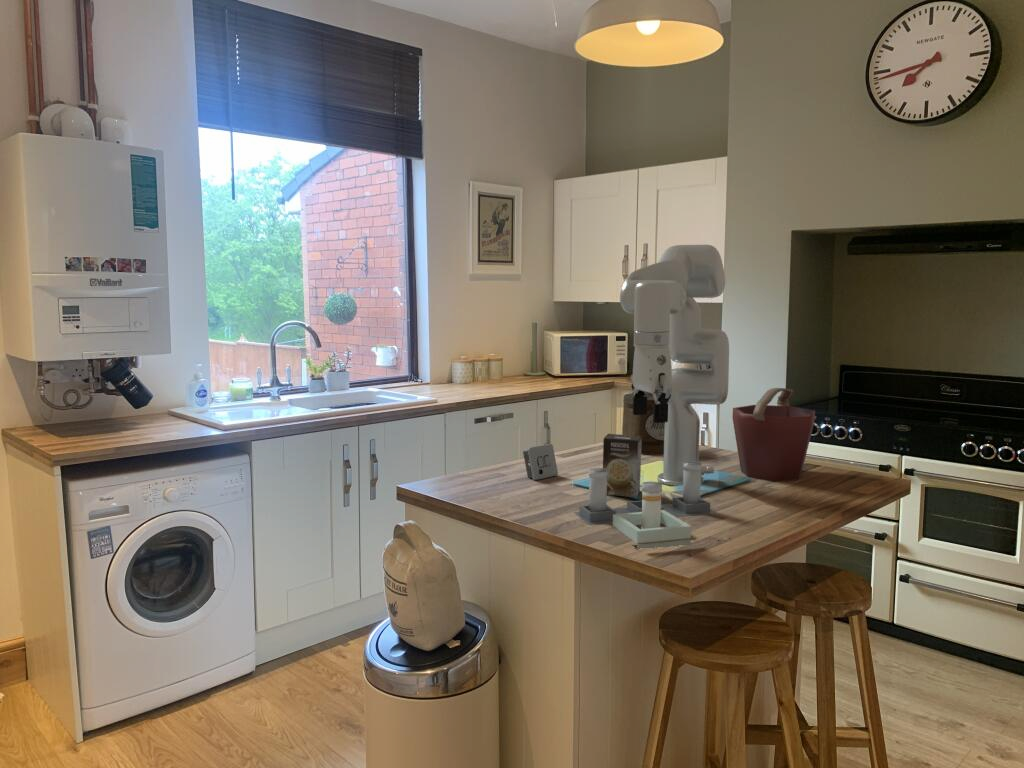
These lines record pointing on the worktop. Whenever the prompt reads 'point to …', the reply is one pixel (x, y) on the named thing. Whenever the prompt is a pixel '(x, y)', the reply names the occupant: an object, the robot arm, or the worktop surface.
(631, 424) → the wooden container
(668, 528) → the tray
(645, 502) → the cylinder
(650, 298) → the robot arm
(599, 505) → the fuse
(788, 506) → the worktop surface
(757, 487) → the worktop surface
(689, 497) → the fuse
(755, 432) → the bucket
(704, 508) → the fuse block
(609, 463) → the coffee box
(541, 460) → the electrical switch
